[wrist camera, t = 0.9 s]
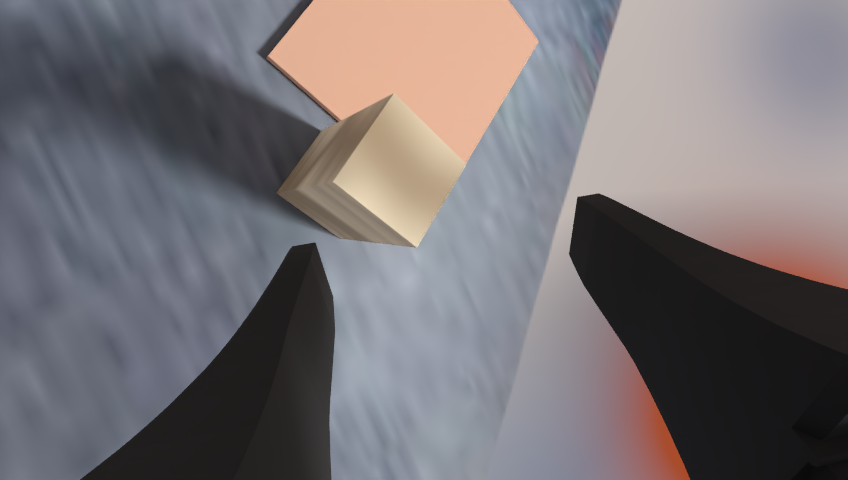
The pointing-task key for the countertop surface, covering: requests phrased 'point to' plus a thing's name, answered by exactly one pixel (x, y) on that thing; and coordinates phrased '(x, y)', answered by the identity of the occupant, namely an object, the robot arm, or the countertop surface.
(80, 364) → the countertop surface
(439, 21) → the terracotta mat
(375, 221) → the birch block
